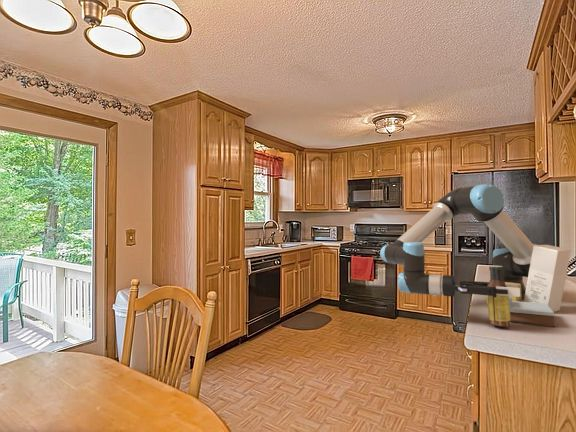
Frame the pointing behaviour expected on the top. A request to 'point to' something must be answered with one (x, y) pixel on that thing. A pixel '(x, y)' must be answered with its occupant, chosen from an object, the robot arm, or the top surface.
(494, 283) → the sauce bottle
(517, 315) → the brown flat block
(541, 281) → the tall white carton
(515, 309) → the lid
